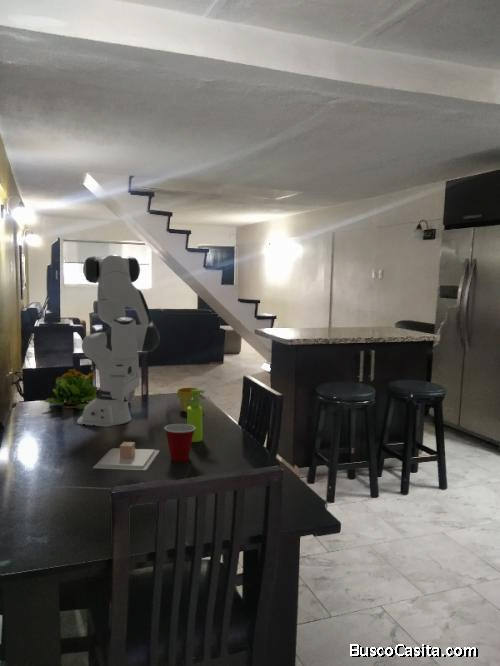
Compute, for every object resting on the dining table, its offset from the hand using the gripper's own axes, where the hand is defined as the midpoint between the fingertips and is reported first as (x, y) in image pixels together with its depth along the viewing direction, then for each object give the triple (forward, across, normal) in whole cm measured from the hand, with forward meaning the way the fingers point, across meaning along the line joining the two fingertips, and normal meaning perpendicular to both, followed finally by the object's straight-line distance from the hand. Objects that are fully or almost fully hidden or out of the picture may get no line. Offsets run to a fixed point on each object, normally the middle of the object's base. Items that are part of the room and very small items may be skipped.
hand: (126, 405), depth 171 cm
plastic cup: (+20, -2, +18) cm, 27 cm away
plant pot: (+19, -63, +9) cm, 67 cm away
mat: (+19, 0, 0) cm, 19 cm away
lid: (+19, 0, 0) cm, 19 cm away
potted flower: (+19, -64, -48) cm, 83 cm away
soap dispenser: (+20, -22, +20) cm, 36 cm away
